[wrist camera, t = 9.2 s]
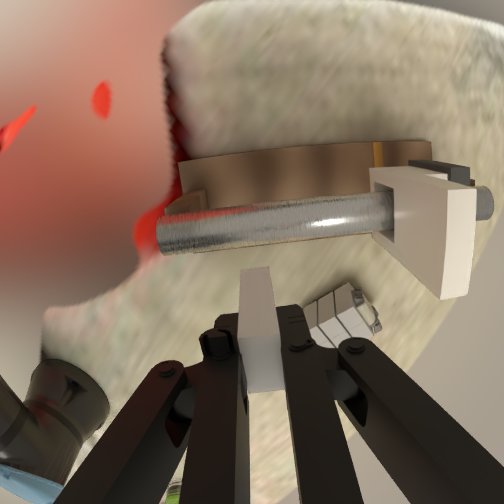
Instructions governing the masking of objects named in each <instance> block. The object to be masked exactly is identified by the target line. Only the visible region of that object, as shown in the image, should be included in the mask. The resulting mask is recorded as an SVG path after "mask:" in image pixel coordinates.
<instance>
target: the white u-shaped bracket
mask: <svg viewBox="0 0 504 504" xmlns="http://www.w3.org/2000/svg"><path fill="white" fill-rule="evenodd" d="M369 174H370V192H376V191H390V190H394V230H387V231H378V232H372V238H373V239H374V240H375V241H376V242H378V243H379V244H380V245H381V246H382V247H383V248H384V249H386V250H387V251H388V252H389V253H390V254H391V255H392V256H393V257H394V258H396V259H397V260H398V261H399V262H400V263H401V264H402V265H403V266H404V267H405V268H406V269H408V270H409V271H410V272H411V273H412V274H413V275H414V276H415V277H416V278H417V279H418V280H419V281H420V282H421V283H422V284H424V285H425V286H426V287H427V288H428V289H429V290H430V291H431V292H432V293H433V294H434V295H435V296H436V297H437V298H438V299H439V300H445V299H449V298H454V297H458V296H463V295H467V293H468V287H469V280H470V273H471V265H472V257H473V247H474V236H475V221H476V196H477V189H476V188H473V187H469V186H466V185H462V184H459V183H455V182H451V181H448V178H447V174H446V173H441V172H437V171H432V170H428V169H423V168H418V167H413V166H399V167H378V168H369Z"/></svg>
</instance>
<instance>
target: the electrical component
mask: <svg viewBox="0 0 504 504" xmlns="http://www.w3.org/2000/svg"><path fill="white" fill-rule="evenodd" d="M334 292H335V294H334V293H333V292H331V293H329V294H327V295H325V296H324V297H322V298H320V299H318V302H317V301H315V302H313V303H311V304H309V305H307V306H306V307H304V308H303V311H304V314H305V318H306V321H307V324H308V327H309V330H310V333H311V337H312V338H313V339H314V340H315V341H316V343H317V344H318V345H320V346H322V347H327V348H338V345H339V344H340V343H341V341H343V340H345V339H347V338H351V337H362V338H366V339H369V338H371V337H373V336H374V334H373V329H372V327H374V332H375V333H377V332H379V331H381V330H382V326H381V324H380V321H379V320H378V318H377V317H378V312H377V311H376V309H375V308H374V307H373V306H371V305H370V303H369V302H368V300H367V299H366V297H365V296H364V294H363V292H362V288H361V287H358V288H357V289H355V290H354V288H353V287H352V286H351V284H350V283H349V282H348V283H347V284H345V285H343V286H341V287H340V288H338V289H336V290H334Z"/></svg>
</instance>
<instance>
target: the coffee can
mask: <svg viewBox="0 0 504 504" xmlns="http://www.w3.org/2000/svg"><path fill="white" fill-rule="evenodd" d="M181 484H182V482H177V483H173V484H171V485H169V487H168V492H167V497H166V502H165V504H178V503H179V497H180V490H181Z"/></svg>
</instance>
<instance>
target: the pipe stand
mask: <svg viewBox="0 0 504 504" xmlns="http://www.w3.org/2000/svg"><path fill="white" fill-rule="evenodd" d="M408 160H431V161H432V149H431V142H428V141H392V142H360V143H340V144H324V145H311V146H299V147H288V148H278V149H268V150H259V151H251V152H243V153H235V154H228V155H221V156H214V157H207V158H201V159H195V160H189V161H183V162H178V166H179V172H180V179H181V185H182V191H183V195H182V196H181V197H179V198H178V199H176V200H175V201H174V202H172V203H171V204H170V205H168V206H167V207H166V208H164V211H165V215H171V214H178V213H185V212H192V211H199V210H207V209H214V208H222V207H229V206H237V205H245V204H254V203H262V202H271V201H280V200H289V199H298V198H308V197H318V196H329V195H340V194H351V193H364V192H370V174H369V168H378V167H399V166H408ZM470 186H475V180H473V179H470ZM369 233H372V232H369ZM360 234H368V233H360ZM351 235H359V234H351ZM342 236H350V235H342ZM333 237H341V236H333ZM324 238H332V237H324ZM315 239H323V238H315ZM306 240H314V239H306ZM306 240H298V241H306ZM289 242H297V241H289ZM280 243H288V242H280ZM271 244H279V243H271ZM262 245H270V244H262ZM262 245H254V246H262ZM245 247H253V246H245ZM237 248H244V247H237ZM228 249H236V248H228ZM219 250H227V249H219ZM219 250H211V251H219ZM202 252H210V251H202ZM194 253H201V252H194Z"/></svg>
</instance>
